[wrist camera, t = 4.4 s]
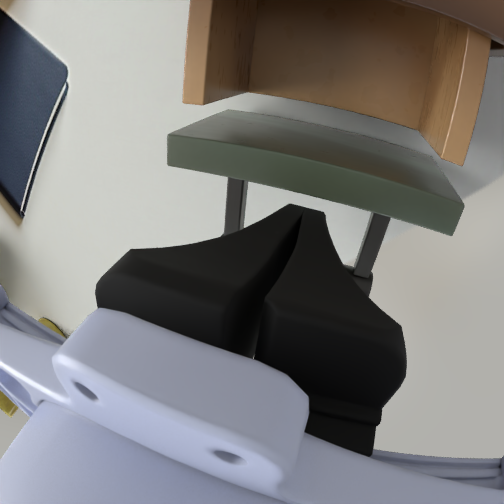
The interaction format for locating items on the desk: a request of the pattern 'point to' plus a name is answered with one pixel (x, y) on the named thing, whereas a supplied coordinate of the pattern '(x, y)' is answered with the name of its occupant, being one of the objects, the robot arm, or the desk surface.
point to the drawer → (334, 95)
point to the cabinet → (469, 17)
